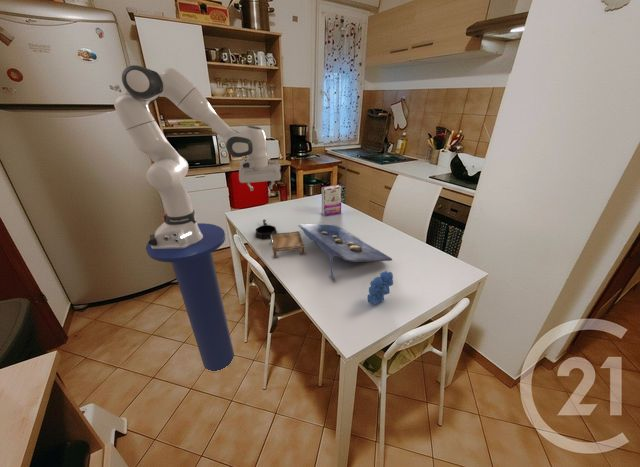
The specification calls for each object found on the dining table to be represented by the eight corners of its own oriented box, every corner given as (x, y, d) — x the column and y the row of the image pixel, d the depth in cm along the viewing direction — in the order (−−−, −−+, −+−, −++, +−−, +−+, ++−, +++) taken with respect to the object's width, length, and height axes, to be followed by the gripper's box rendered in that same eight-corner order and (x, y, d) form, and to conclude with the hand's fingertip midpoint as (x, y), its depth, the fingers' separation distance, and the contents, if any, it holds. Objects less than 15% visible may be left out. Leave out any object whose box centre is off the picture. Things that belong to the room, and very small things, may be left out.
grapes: (380, 288, 97) (383, 261, 91) (394, 298, 92) (400, 270, 87) (358, 301, 91) (360, 273, 85) (372, 313, 86) (376, 284, 80)
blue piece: (289, 241, 132) (293, 220, 129) (332, 242, 147) (337, 222, 144) (340, 286, 97) (347, 258, 94) (390, 280, 112) (398, 256, 109)
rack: (273, 258, 114) (272, 248, 112) (270, 243, 126) (270, 234, 124) (305, 254, 117) (304, 245, 115) (299, 239, 129) (299, 230, 127)
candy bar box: (337, 210, 163) (338, 184, 155) (341, 213, 159) (342, 187, 151) (321, 213, 159) (321, 186, 151) (324, 216, 155) (324, 189, 147)
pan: (256, 240, 128) (256, 235, 127) (255, 224, 144) (254, 219, 143) (277, 238, 131) (276, 232, 129) (273, 222, 146) (273, 217, 145)
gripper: (279, 159, 131) (281, 186, 138) (237, 161, 127) (241, 189, 133) (280, 162, 126) (282, 190, 132) (236, 164, 121) (240, 193, 128)
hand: (261, 189), depth 133 cm, fingers open, 8 cm apart
